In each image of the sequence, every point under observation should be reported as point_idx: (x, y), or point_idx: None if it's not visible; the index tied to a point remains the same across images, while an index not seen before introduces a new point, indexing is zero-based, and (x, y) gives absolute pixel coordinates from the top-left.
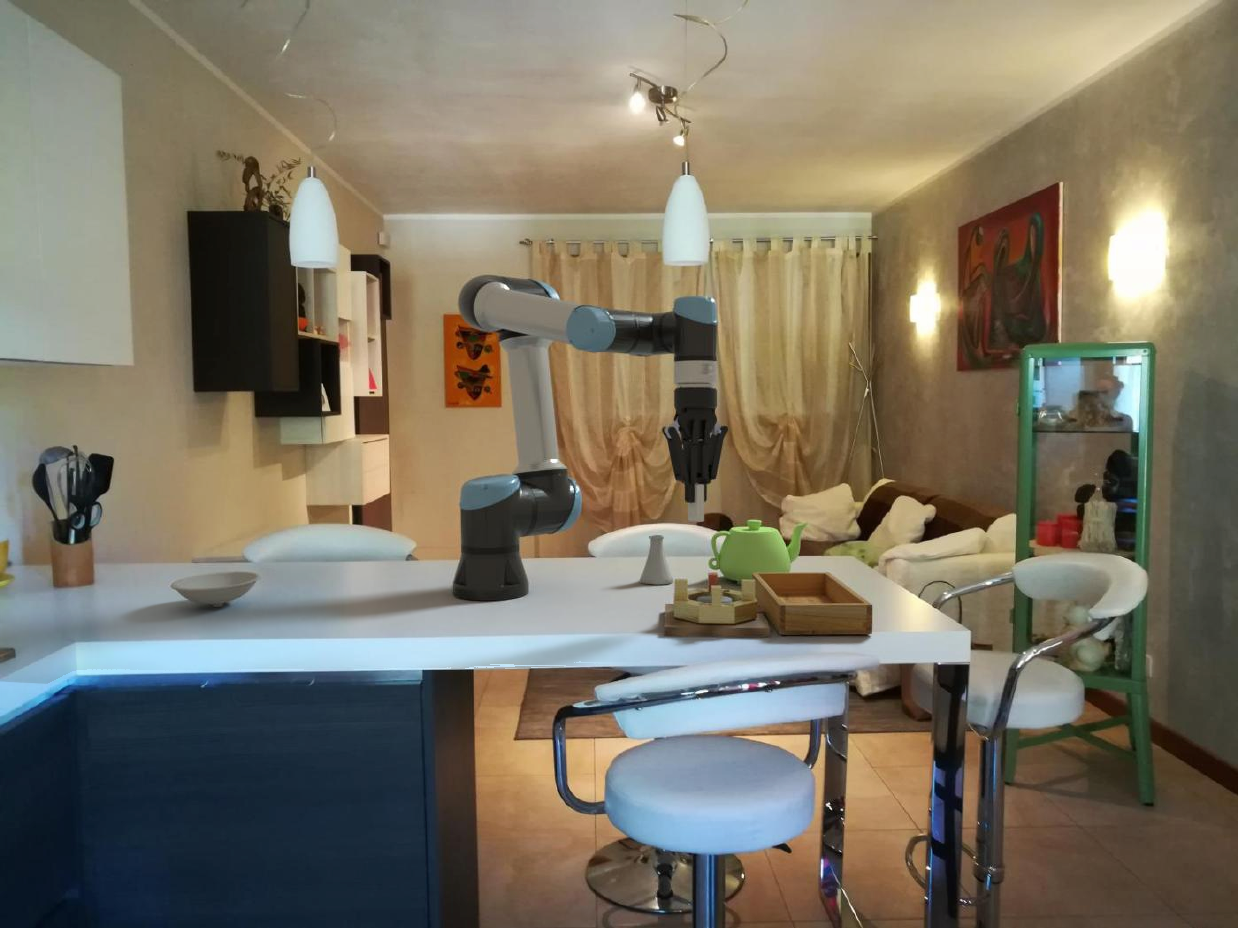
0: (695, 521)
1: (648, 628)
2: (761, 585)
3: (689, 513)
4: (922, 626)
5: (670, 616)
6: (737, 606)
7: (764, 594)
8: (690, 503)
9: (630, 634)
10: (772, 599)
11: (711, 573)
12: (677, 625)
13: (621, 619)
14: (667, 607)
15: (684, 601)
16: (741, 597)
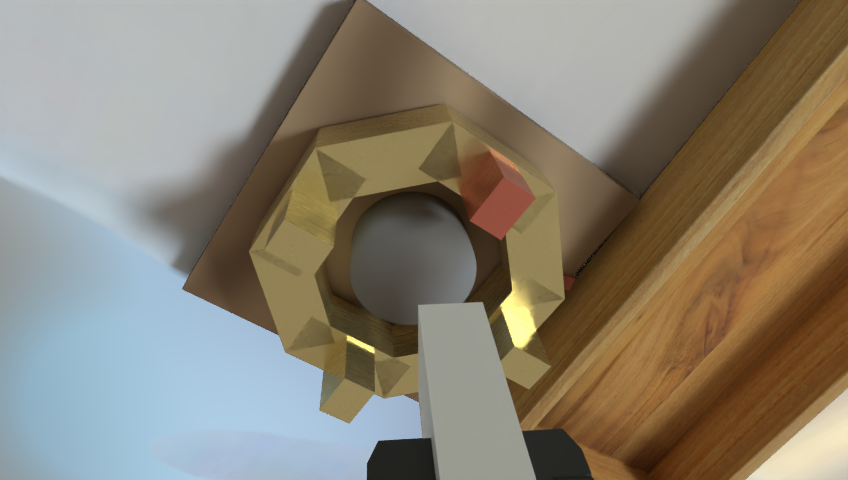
0: (418, 382)
1: (180, 178)
2: (715, 190)
3: (421, 358)
4: (806, 463)
5: (265, 192)
6: (397, 394)
7: (658, 238)
8: (430, 429)
9: (91, 213)
10: (556, 372)
11: (502, 200)
12: (228, 294)
13: (135, 11)
14: (329, 64)
15: (278, 278)
16: (492, 317)
